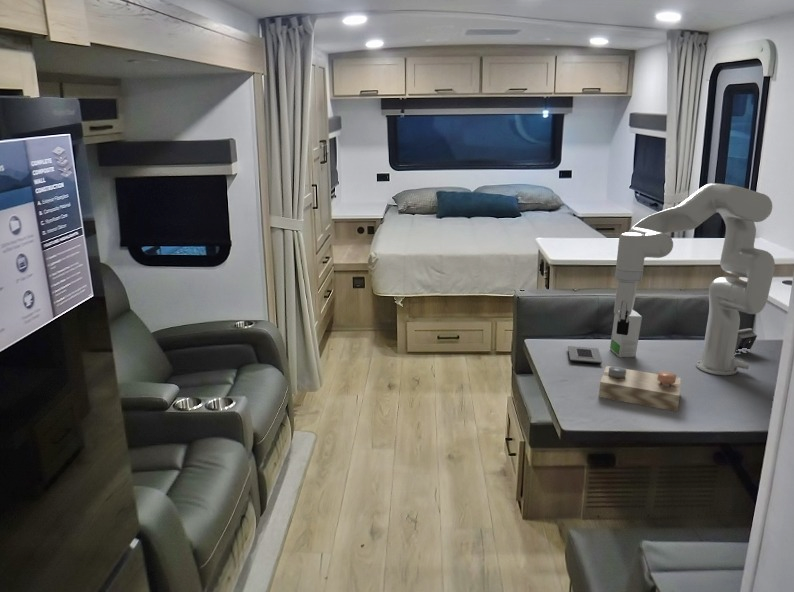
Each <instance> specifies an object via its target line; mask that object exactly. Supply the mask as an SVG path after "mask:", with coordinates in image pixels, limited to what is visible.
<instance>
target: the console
mask: <svg viewBox="0 0 794 592" xmlns="http://www.w3.org/2000/svg"><path fill="white" fill-rule="evenodd" d="M610 367H612V366H609V365H606V366H605V367H604V370H603V374H602V377H601V378H600V382H599V390H598V398H601V397H604V398H603V399H606V398H609V399H608V400H612V399H614V400H613V401H617V400H619V402H623V401H624V403H628V402H629V403H630V404H635V405H638V406H639V405H640V406H646V407H651V408H656V409H663V410H667V411H672V412H673V411H674V412H678V408H679V404H680V403H679V402H680V394H681V384H682V383H681V381H682V379H681V377H677V376H676V381H675V383H673V384H669V386H663V385H662V382H660V381H658V380H657V377H658V373H653V372H647V371H640V370H635V369H628V368H625V369H626V376H625V377H624V378H614V377H611V376H609V374H608V373H609V368H610ZM629 403H628V404H629Z"/></svg>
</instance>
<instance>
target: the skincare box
mask: <svg viewBox="0 0 794 592" xmlns="http://www.w3.org/2000/svg"><path fill="white" fill-rule="evenodd" d="M618 319H619V311H618V313H616V314H615V313H614V317H613V324H612V332H611V337H610V343H609V344H610V346H609V350H611V351H612V353H613V354H615V356H617V357H618V358H636V356H637V352H638V345H639V344H638V343H639V337H640V331H641V327H642V326H641V325H642V319H643V315H640V314H639V313H638V312H637V311H636V310H634V308H633V309H632V312H631V314H630V315H629V329H628V335H621V334H617V333H616V332H617V323H618Z"/></svg>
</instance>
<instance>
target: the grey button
mask: <svg viewBox="0 0 794 592" xmlns="http://www.w3.org/2000/svg"><path fill="white" fill-rule="evenodd" d="M626 369H627V368H625V367H621V366H616V365H615V366H611V367H610V368H609V373H608V374H609V376H611V377H614V378H624V377H625V376H626Z"/></svg>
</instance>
